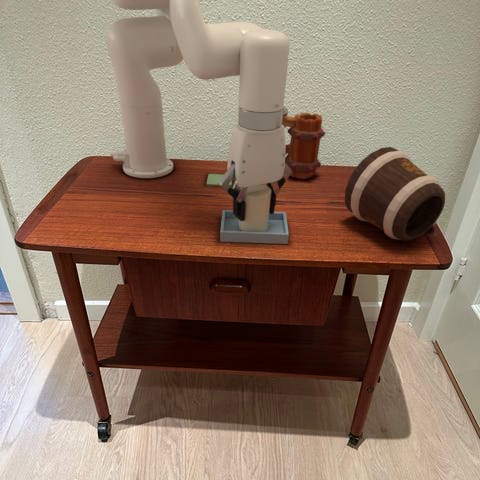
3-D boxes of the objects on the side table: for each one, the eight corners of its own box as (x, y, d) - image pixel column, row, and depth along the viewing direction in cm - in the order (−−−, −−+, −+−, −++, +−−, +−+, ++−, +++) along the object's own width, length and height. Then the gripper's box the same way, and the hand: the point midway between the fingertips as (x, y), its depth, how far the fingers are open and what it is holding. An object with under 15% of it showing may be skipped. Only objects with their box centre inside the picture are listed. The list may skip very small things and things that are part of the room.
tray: (220, 241, 83) (220, 231, 81) (222, 218, 90) (222, 209, 88) (287, 244, 83) (288, 234, 81) (284, 221, 90) (285, 212, 88)
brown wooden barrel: (328, 201, 86) (378, 242, 77) (376, 132, 80) (436, 167, 71) (377, 225, 100) (424, 261, 91) (420, 167, 93) (475, 200, 85)
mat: (206, 185, 102) (206, 183, 102) (208, 175, 106) (208, 173, 106) (231, 186, 102) (231, 184, 102) (232, 176, 106) (232, 174, 106)
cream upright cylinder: (238, 234, 84) (239, 196, 78) (238, 219, 88) (240, 182, 83) (268, 235, 84) (271, 197, 78) (267, 220, 88) (270, 183, 83)
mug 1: (318, 170, 111) (328, 108, 101) (319, 183, 105) (330, 118, 95) (262, 166, 112) (266, 104, 102) (260, 179, 106) (265, 114, 96)
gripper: (290, 106, 78) (280, 198, 90) (204, 117, 71) (206, 215, 83) (314, 118, 73) (300, 214, 85) (225, 131, 66) (224, 232, 78)
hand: (254, 213), depth 84 cm, fingers closed on cream upright cylinder, 6 cm apart
